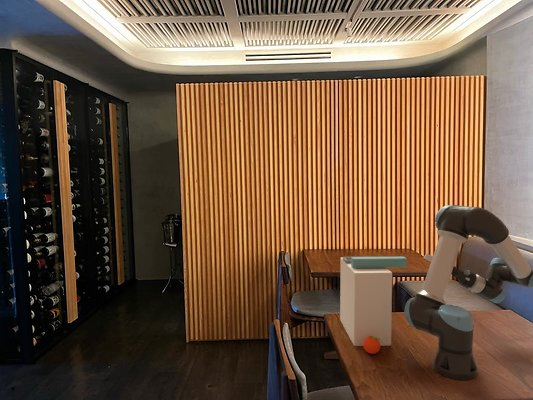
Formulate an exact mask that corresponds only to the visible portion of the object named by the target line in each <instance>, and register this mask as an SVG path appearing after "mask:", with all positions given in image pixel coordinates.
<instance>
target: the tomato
mask: <svg viewBox="0 0 533 400" xmlns="http://www.w3.org/2000/svg"><path fill="white" fill-rule="evenodd" d="M378 339H379V338H377V337H373V336H369V337H367V338H366V339H365V340H364V342H363V346H362V347H363V349H364V351H365V352H366V353H368V354H371V355H375V354H377V353H379V352H380V349H381V346H380V342H379V340H380V339H379V340H378ZM382 343H383V342H382Z"/></svg>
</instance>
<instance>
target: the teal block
mask: <svg viewBox="0 0 533 400" xmlns="http://www.w3.org/2000/svg"><path fill="white" fill-rule="evenodd" d="M350 257H351V266H352V267H353V268H387V269H388V268H407V266H408V264H407V263H408V259H407V257H405V256H350Z"/></svg>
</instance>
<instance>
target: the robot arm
mask: <svg viewBox="0 0 533 400" xmlns="http://www.w3.org/2000/svg"><path fill="white" fill-rule="evenodd" d="M434 218H435V219H434V220H435V223H434V225H435V227H436V230H437V235H438V237H439V238H438V241H437V243H436V247H435V250H434V252H433V256H432V255H431V254H429V253H426V252H425V255H424V256H423V259H425V260H427V261H428V262H430V264H429V268H428V271H427V272H426V277H425V279H424V282H423V285H422V288H421V290H420V291H418V292H416V294H415V297H411V298H409V299H408V300H407V302H406V303H405V307H404V318H405V320H406V322H407V323H408V325H409V326H411V327H413V328H414V329H417V330H419V331H421V332H424V333H427V334H428V335H431V336H434V337H436V338H438V344H437V345H438V347H437V349H436V352H435V355H434V357H433V360H432V367H433V370H434V371H435V372H436V373H438V374H439V375H442V376H444V377H446V378H449V379H454V380H458V381H459V380H460V381H469V380H473V379H474V377H475V378H476V377H477V376H476V375H478V366H477V364H476V360H475V357H474V353H473V344H474V343H473V341H474V327H475V324H474V317H473V315H472V313H471V312H470V311H469V310H467V309H466V308H464V307H462V306H458V305H453V304H446V302H445V300H444V297H445V294H446V291H447V289H448V285H449V282H450V280H451V279H450V278H451V276H453V277H455V278H456V279H458V283H459V285H460V286H463V287H464V288H466V289H469V290H470V292H471V293H475V294H476V295H477V294H478V295H479V296H481V297H482V298H484V299H486V300H487V301H490V302H492V303H494V304H500V303H501V302H503V301H504V299H505V298H506V291H505V289H504V288H503V284H504V283H508V284H513V285H518V286H521V287H526V288H528V289H533V269H532V267H531V266H530V265H529V263H528V261H527V260H526V258H525V256H524V255H523V254H522V252H521V251H520V250H519V248H518V246H517V245H516V243H514V241H513V239H512V238H511V237H510V230H509V229H508V226H506V224H505V223H504V222H503V221H502V220H501V219H500V218H499V217H498V216H496V214H494V213H492V212H491V211H490V210H488V209H487V208H483V207H479V206H468V205H467V206H465V205H458V204H450V205H449V204H448V205H444V206H443V207H441V208H439V210H438V212H437V213H436V215H435V217H434ZM469 236H473V237H478V238H480V239H482V240H483V241H484V243H487V244H488V245H490V246H491V247H492V249H493V250H494V252H495V253H496V254H497V256H498V257H494V258H492V259H491V262H490V264H489V265H488V268H487V271H486V274H485V277H482V276H481V275H479V274H477V273H474V272H473V271H471V270H469V269H466V270H461V269H459V268H457V267H456V266H455V264H456V262H457V261H456V260H457V258H458V255H459V251H460V248H461V245H462V244H463V243H465V242H467V241H468V238H469Z"/></svg>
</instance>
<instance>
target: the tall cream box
mask: <svg viewBox="0 0 533 400" xmlns="http://www.w3.org/2000/svg"><path fill="white" fill-rule="evenodd" d="M351 257H352V256H342V257H340V270H339V271H340V272H339V273H340V277H339V278H340V279H339V280H340V283H339V284H340V285H339V286H340V287H339V288H340V290H339V291H340V293H339V294H340V295H339V296H340V297H339V298H340V299H339V303H340V304H339V305H340V306H339V308H340V309H339V320H340V322H341V325H342V326H343V329H344V330H345V332H346V333H347V335H348V337H349V339H350V341H351V343H352V345H353V347H363V342H364V340H365V339H366V338H367V337H369V336H373V337H377V338H379V339H380V340H379V339H378V340H379V342H380V347H381V346H382V347H383V346H392V314H393V313H392V311H393V310H392V308H393V306H392V305H393V302H392V301H393V300H392V299H393V272H392V271H391V270H389V269H388V268H353V267H352V266H351ZM382 342H383V343H382Z"/></svg>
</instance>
